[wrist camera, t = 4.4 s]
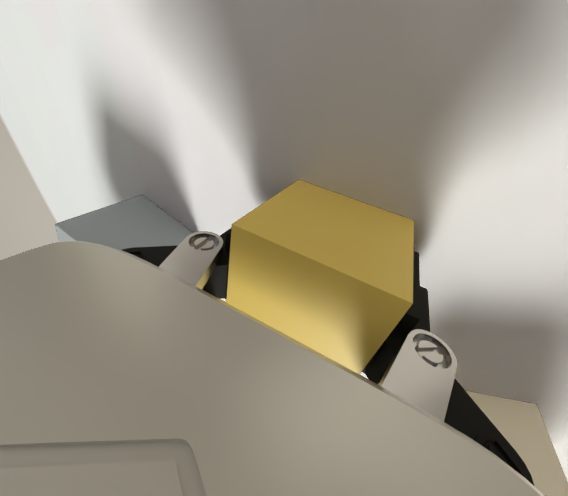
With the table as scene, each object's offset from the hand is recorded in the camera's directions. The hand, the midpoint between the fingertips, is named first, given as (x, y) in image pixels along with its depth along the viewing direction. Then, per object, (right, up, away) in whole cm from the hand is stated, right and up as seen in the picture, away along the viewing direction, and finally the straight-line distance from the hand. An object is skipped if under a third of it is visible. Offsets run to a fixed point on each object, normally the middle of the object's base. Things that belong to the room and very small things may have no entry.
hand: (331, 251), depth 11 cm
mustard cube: (0, 0, 0) cm, 1 cm away
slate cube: (-10, +1, +6) cm, 12 cm away
